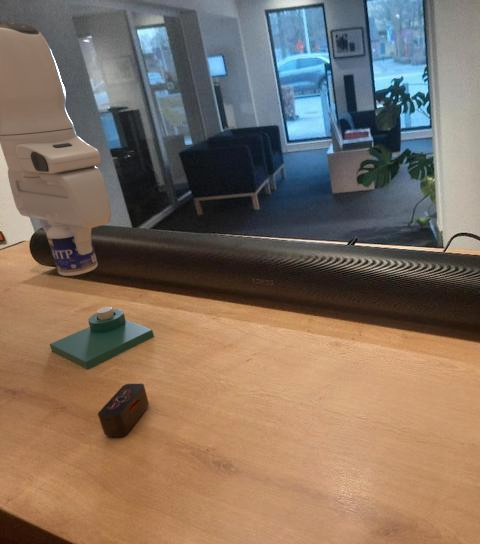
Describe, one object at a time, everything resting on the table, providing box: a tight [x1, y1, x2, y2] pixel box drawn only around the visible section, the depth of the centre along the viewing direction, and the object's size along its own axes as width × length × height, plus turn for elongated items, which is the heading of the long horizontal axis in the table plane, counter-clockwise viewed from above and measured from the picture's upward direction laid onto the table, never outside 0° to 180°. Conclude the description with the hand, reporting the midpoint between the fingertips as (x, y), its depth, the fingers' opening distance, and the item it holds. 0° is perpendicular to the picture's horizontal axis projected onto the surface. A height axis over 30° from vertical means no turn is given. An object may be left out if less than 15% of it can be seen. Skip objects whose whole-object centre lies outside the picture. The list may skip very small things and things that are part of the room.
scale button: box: [95, 306, 114, 320], centre depth 82 cm, size 2×2×2 cm
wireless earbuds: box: [97, 383, 150, 437], centre depth 60 cm, size 5×7×3 cm, turn 175°
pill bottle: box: [46, 215, 99, 277], centre depth 71 cm, size 5×5×9 cm
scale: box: [49, 308, 155, 370], centre depth 79 cm, size 11×11×3 cm
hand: (72, 250), depth 72 cm, fingers closed on pill bottle, 5 cm apart
